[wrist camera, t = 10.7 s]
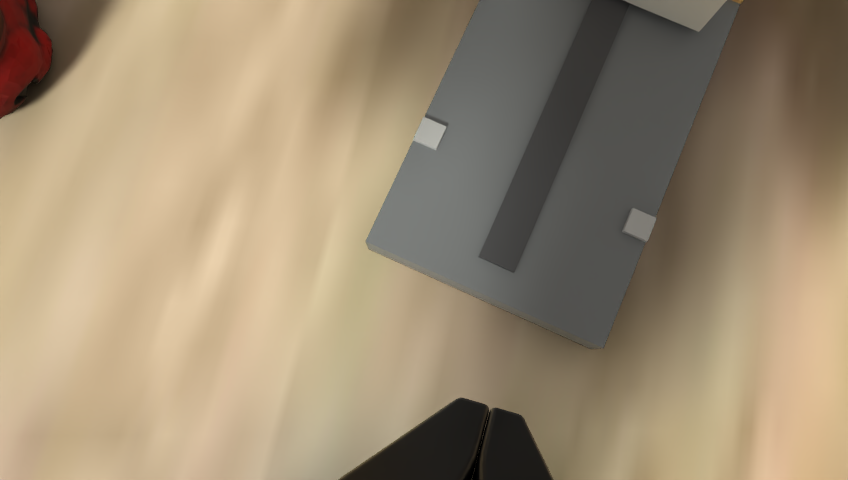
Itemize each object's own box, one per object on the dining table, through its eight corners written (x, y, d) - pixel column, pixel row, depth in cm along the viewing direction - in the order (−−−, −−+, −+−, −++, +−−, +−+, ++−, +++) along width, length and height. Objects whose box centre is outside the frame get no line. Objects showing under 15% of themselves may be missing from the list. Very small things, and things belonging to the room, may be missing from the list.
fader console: (590, 348, 22) (605, 348, 20) (368, 248, 22) (365, 240, 21) (774, -111, 25) (800, -145, 23) (575, -191, 25) (587, -230, 24)
